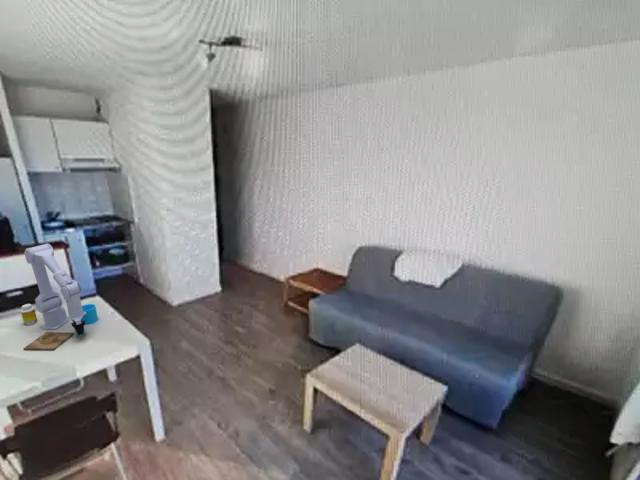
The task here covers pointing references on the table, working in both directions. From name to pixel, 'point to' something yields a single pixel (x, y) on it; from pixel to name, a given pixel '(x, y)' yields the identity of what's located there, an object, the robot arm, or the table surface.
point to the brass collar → (48, 341)
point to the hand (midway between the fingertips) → (79, 331)
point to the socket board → (52, 346)
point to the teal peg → (79, 335)
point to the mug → (89, 314)
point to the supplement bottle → (28, 314)
